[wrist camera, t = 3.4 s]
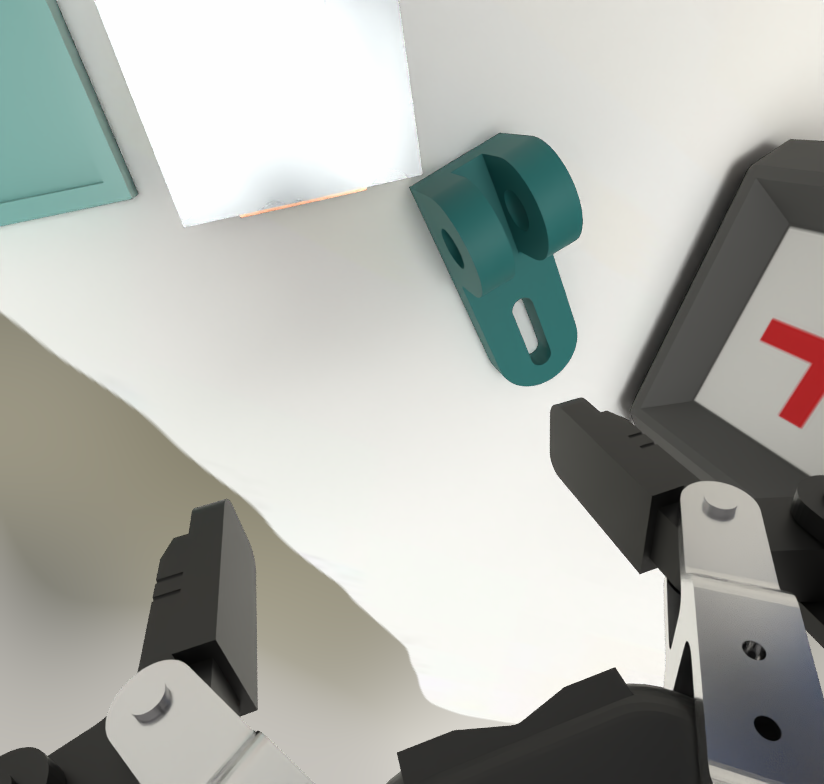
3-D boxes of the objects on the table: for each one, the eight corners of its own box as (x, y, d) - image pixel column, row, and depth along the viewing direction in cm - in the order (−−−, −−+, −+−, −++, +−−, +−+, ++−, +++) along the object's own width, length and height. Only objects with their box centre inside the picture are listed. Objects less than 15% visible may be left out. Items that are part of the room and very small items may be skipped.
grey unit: (121, -42, 24) (39, -139, 14) (328, -71, 25) (374, -175, 16) (208, 200, 29) (189, 242, 20) (372, 165, 31) (424, 189, 22)
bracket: (408, 187, 32) (449, 206, 26) (498, 132, 32) (562, 138, 26) (502, 387, 42) (549, 439, 36) (571, 346, 42) (631, 390, 35)
